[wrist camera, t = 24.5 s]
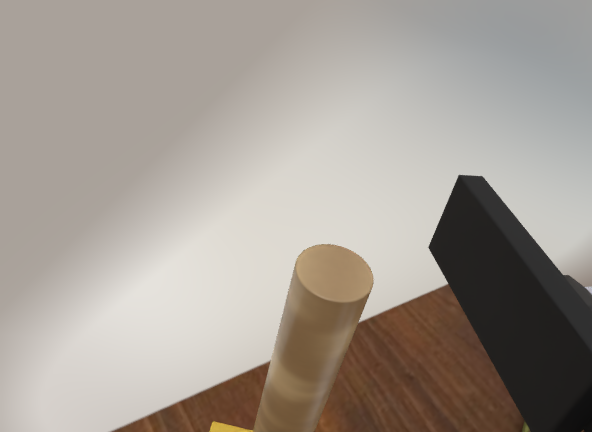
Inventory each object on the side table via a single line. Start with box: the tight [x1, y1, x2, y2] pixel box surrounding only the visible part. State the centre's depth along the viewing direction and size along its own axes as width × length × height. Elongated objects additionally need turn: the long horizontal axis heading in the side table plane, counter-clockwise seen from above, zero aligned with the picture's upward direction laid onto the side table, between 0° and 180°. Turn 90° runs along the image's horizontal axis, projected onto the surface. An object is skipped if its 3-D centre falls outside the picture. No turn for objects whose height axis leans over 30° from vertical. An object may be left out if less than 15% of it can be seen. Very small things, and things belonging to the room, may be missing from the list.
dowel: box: [253, 244, 373, 432], centre depth 32 cm, size 4×4×28 cm
